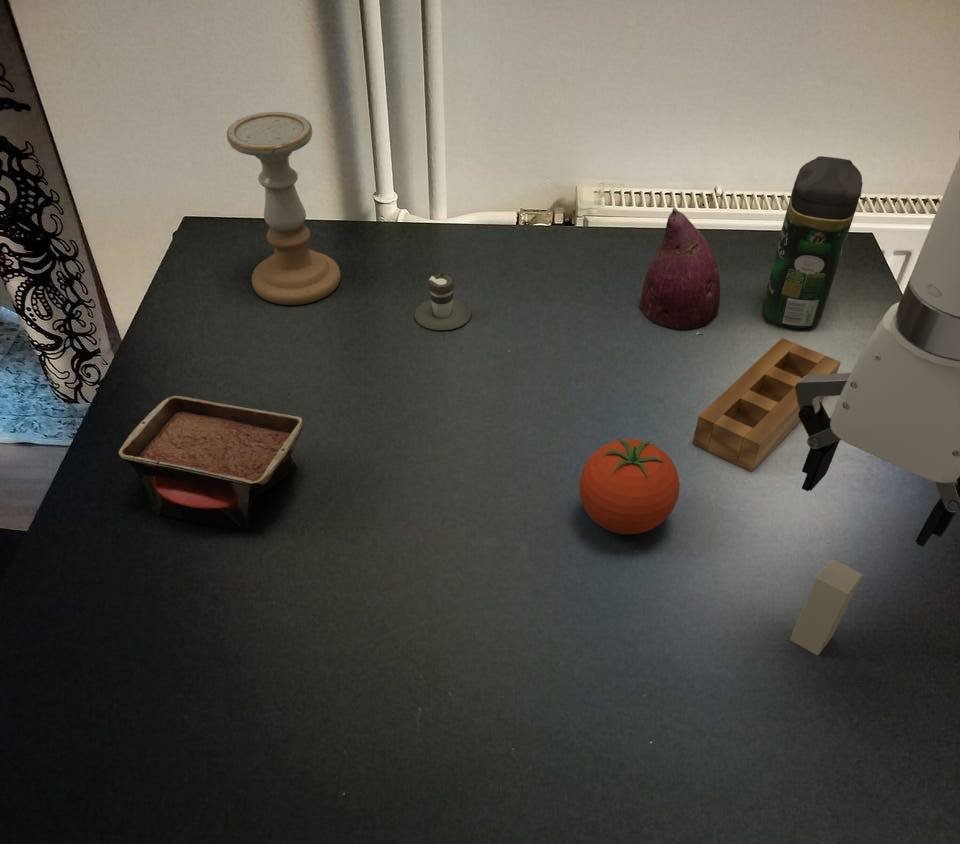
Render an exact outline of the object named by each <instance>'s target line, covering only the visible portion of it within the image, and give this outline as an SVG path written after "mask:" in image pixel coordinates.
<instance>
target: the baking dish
mask: <svg viewBox="0 0 960 844" xmlns="http://www.w3.org/2000/svg"><path fill="white" fill-rule="evenodd" d="M303 423H304V421H303V417H302V416H299V415H290V414H284V413H280V412H275V411H271V410H270V411H268V410H262V409H258V408H249V407H242V406H238V405H231V404H226V403H221V402H215V401H214V402H213V401H210V400H204V399H197V398H192V397H189V396H188V397H187V396H183V395H182V396H181V395H173V396H170V397H167V398H166V399H164V400H162V401H160V402H159V403H158V404H156V406H155V407H154V408H151V409H150V411H149V412H148V413H147V415H146V416H144V418H143V419H142V420H141V421H140V422H139V423H138V424H137V425H136V426H135V427H134V428H133V430H132V431H131V432H129V433H128V436H127V437H126V439H125V440H124V442H123V444H122V445H121V447H120V448H119V449H118V455H119V457H120V458H121V459H122V460H124V461H126V462H127V463H128V464H129V465H130V466H131V467H132V468H133V470H134V471H135V473H136V474H137V475H138V476H139V478H140V479H141V481H142V483H143V486H144V488H145V491H146V494H147V497H148V500H149V504H150V506H151V512H153V513H155V514H157V515H159V516H164V517H169V518H173V519H178V520H183V521H188V522H194V523H200V524H206V525H210V526H217V527H222V528H223V527H224V528H233V529H239V530H249V528H250V524H251V517H252V516H251V515H252V508H253V501H254V499H256V498H258V497H259V496H260V495H262V494H263V493H265V492H266V491H267V490H268V489H270V488H271V487H273V486H274V485H276V484H277V483H278V482H280V481H281V480H283V479H284V478H286V476H288V475H290V473H291V472H293V471H294V470H295V469H296V468H297V467H298V464H297V463H296V462H295V461H293V459H292V458H291V457H292V454H293V452H294V450H295V449H296V446H297V444H298V440H299V438H300V436H301V433H302V431H303Z"/></svg>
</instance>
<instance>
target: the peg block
mask: <svg viewBox="0 0 960 844" xmlns="http://www.w3.org/2000/svg"><path fill="white" fill-rule="evenodd" d="M841 363H842V362H841V360H837V359H836V358H833V357H831V356H828V355H825V354H823V353H820V352H817V351H816V350H813V349H810V348H808V347H807V346H806V347H805V346H803V345H801V344H798V343H796V342H793V341H792V340H789V339H787V338H783V337H781V338H780V339H779V340H778V341H777V342H776V343H775V344H774V345H773V346H772V347H771V348H769V350H767V351H766V352H765V353H764V354H763V355H761V357H760V358H759V359H757V360H756V361H755V363H753V365H751V366H750V367H749V368H748V369H747V370H746V371H745V372H743V374H742V375H741V376H739V378H738V379H736V380H735V381H734V382H733V383H732V384H731V385H730V386H729V387H727V389H726V390H724V392H723V393H721V394H720V395H719V396H718V397H717V398H716V399H715V400H714V401H713V402H712V403H711V404H710V405H709V406H707V408H705V409H704V410H703V411H701V413H700V414H699V415H698V417H697V421H696V426H695V430H694V435H693V438H692V439H693V440H692V445H695V446H697V447H699V448H700V449H703V450H705V451H708V452H709V453H711V454H713V455H715V456H717V457H719V458H722V459H724V460H726V461H728V462H729V463H732V464H734V465H736V466H738V467H740V468H743V469H744V470H746V471H749V472H750V473H752V472H754V471H755V470H756V469H757V467H759V465H760V464H762V462H764V460H765V459H766V458H768V456H769V455H770V454H771V453H772V452H773V451H774V450H775V449H776V448H777V447H778V446H779V445H780V443H781V442H782V441H784V439H785V438H786V437H788V435H789V434H791V432H792V431H793V430H794V429H795V428H796V427H797V426H798V425H799V424H800V422H801V420H800V418H799V411H800V407H799V406H798V401H797V396H796V390H795V386H796V384H797V383H798V382H799V381H800V380H801V379H802V378H803V377H804V376H806V375H819V374H838V372H839V368H840V367H841ZM824 398H825V396H820V399H819V401H820V402H821V401H822V399H824Z"/></svg>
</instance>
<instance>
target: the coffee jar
mask: <svg viewBox="0 0 960 844" xmlns="http://www.w3.org/2000/svg"><path fill="white" fill-rule="evenodd" d="M863 183H864V182H863V177H862V173H861V171H860V170H859V168H857V166H855V164H854V163H853V162H852V160H851V159H846V158H839V157H832V156H822V155H819V156H817V157H816V158H814V159H811V160H810V161H808V162H806V163H804V164H803V165H802V166H801V167H800V168H799V171H798V173H797V176H796V177H795V181H794V184H793V187H792V191H791V194H790V198H789V201H788V204H787V208H786V212H785V215H784V218H783V222H782V227H781V230H780V233H779V238H778V243H777V246H776V250H775V255H774V259H773V263H772V267H771V271H770V275H769V278H768V283H767V287H766V291H765V294H764V300H763V314H764V317H765V319H766V320H768V321H770V322H772V323H774V324H776V325H778V326H780V327H784V328H788V329H804V328H811V327H812V328H813V327H815V326H816V325H817V324H819V322H820V321H821V319H822V316H823V313H824V311H825V309H826V305H827V302H828V299H829V295H830V291H831V289H832V286H833V282H834V280H835V275H836V272H837V269H838V267H839V265H840V264H839V263H840V260H841V258H842V257H841V256H842V254H843V250H844V248H845V244H846V241H847V238H848V235H849V232H850V229H851V226H852V223H853V220H854V216H855V213H856V211H857V208H858V205H859V200H860V198H861V197H862V190H863Z"/></svg>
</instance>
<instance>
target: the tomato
mask: <svg viewBox="0 0 960 844" xmlns="http://www.w3.org/2000/svg"><path fill="white" fill-rule="evenodd" d="M579 478H580V479H579V482H578V483H579V497H580V500H581V503H582V506H583V508H584V510H585V511H586V513H587V515H588V516H589V518H591V519H592V520H593V521H594V522H595V523H596V524H597V525H599V526H600V527H602V528H604V529H606V530H608V531H610V532H612V533H615V534H619V535H634V534H642V533H646V532H649V531H651V530H652V529H654V528H656V527H658V526H659V525H660V524H662V523H663V522H665V520H666V519H667V518H668V517H669V516H670V515H671V513H672V512H673V510H674V508H675V506H676V504H677V502H678V499H679V495H680V484H681V483H680V477H679V473H678V470H677V467H676V465H675V464H674V461H673V460H672V458H671V457H670V456H669V454H667V453H666V452H665V451H664V450H663V449H661V448H660V447H658V446H656V445H655V444H653V442H652V441H650V440H649V441H644V440H642V439H632V438H625V439H620V438H617V440H616V441H615V440H614V441H612V442H611V441H610V442H609V443H606V444H604V445H603V446H601V447H599V448H598V449H597V450H596V451H595V452H594V453H593V454H591V456H590V457H589V458H588V460H586V462H585V465H584V466H583V468H582V470H581V475H580V477H579Z"/></svg>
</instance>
